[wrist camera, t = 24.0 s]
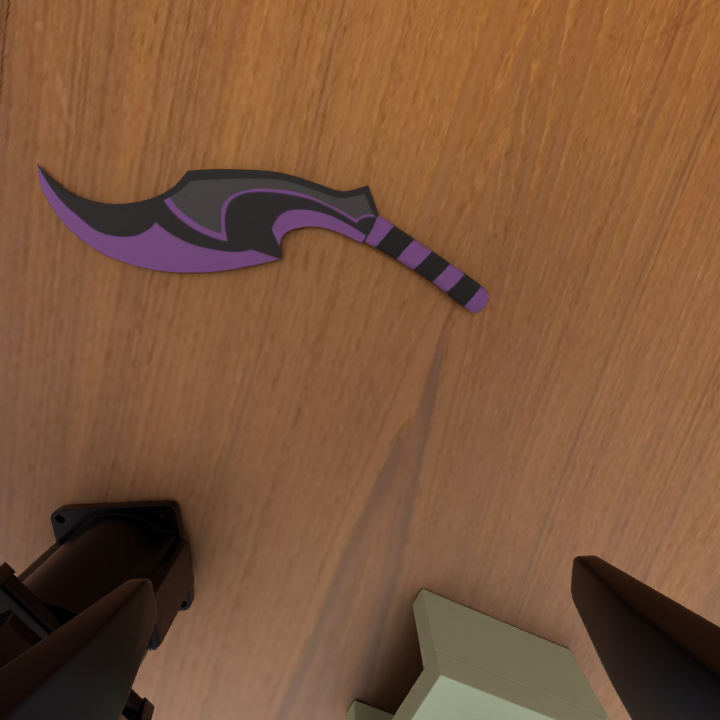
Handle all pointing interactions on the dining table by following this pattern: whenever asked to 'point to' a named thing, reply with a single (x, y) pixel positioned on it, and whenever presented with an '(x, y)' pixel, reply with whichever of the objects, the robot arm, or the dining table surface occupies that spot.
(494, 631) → the green box
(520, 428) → the dining table surface
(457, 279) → the knife
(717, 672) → the robot arm
